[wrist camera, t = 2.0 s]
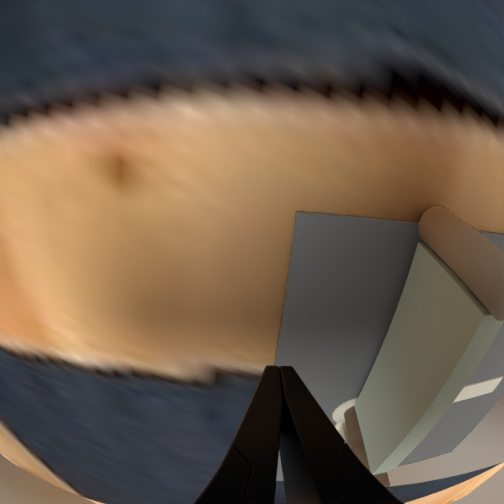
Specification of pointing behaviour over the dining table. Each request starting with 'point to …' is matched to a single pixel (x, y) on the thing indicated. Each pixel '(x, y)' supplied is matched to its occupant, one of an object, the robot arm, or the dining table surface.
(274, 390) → the robot arm
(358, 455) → the fence fixed section
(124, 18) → the dining table surface
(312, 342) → the card
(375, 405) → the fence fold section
